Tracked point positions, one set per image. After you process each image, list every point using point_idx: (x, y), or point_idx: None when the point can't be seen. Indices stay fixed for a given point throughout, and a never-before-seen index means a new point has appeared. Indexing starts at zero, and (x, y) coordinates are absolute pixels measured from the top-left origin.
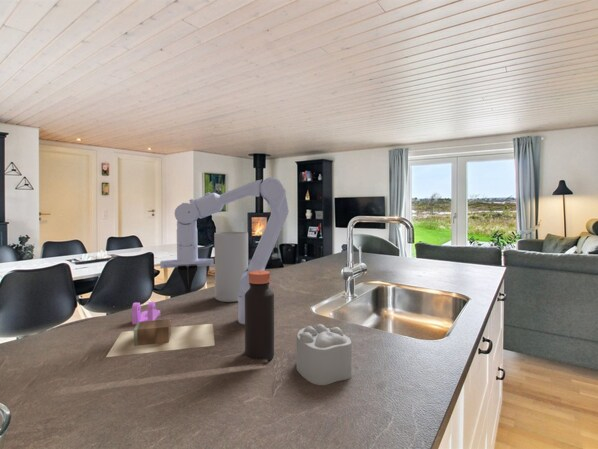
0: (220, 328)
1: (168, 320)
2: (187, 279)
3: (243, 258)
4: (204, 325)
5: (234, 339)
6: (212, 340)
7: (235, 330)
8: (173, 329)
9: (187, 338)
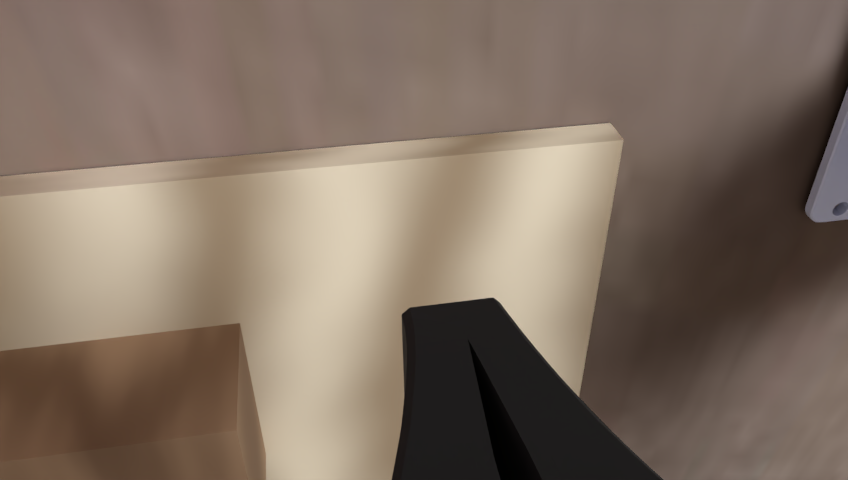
0: (668, 165)
1: (224, 459)
2: (497, 474)
3: None
4: (538, 174)
5: (701, 367)
6: None
7: (768, 226)
8: (237, 233)
9: (393, 409)
